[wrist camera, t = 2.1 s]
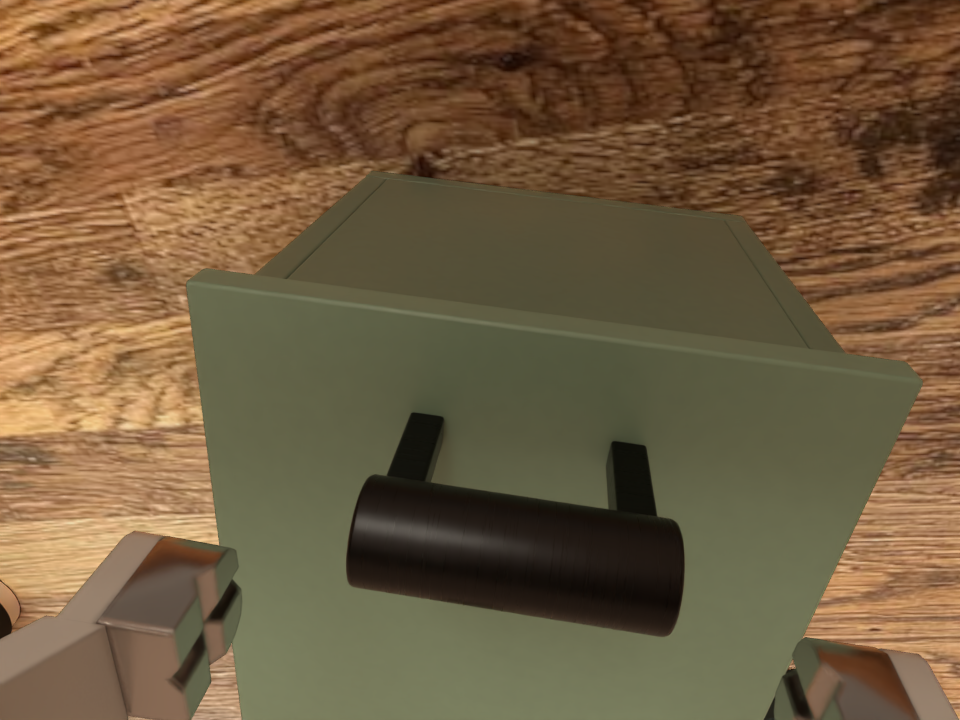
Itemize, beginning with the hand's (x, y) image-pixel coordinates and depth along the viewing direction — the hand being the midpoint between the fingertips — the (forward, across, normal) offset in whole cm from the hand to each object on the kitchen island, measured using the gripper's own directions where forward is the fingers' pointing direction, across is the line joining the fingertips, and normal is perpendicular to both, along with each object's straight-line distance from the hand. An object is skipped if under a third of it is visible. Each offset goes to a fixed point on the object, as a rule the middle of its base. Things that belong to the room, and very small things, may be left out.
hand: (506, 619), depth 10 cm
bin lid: (+5, 0, +6) cm, 8 cm away
